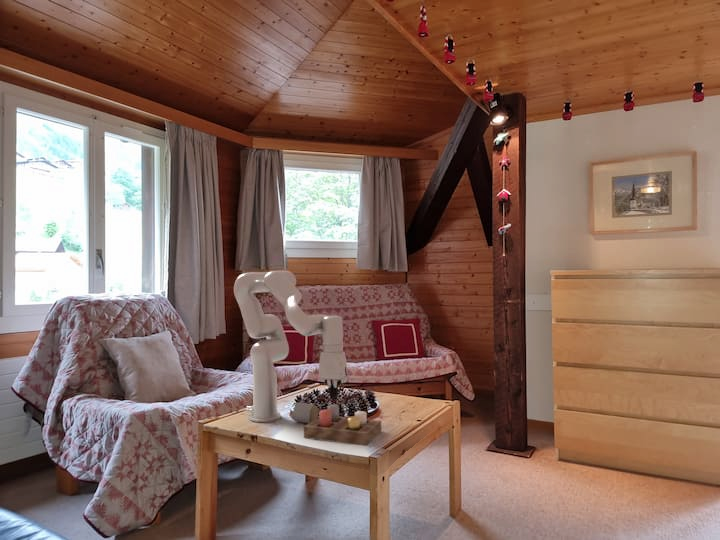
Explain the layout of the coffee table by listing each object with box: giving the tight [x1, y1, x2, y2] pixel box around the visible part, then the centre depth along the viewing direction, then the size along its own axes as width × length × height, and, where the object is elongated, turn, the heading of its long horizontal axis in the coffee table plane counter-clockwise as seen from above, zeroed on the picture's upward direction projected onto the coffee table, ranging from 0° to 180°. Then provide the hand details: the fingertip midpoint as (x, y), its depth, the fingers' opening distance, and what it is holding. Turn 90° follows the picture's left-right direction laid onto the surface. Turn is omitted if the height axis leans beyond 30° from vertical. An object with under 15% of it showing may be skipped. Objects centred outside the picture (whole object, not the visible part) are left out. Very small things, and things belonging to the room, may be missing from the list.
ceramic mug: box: [292, 401, 320, 424], centre depth 205 cm, size 11×8×8 cm
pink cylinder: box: [318, 408, 332, 427], centre depth 186 cm, size 4×4×5 cm
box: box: [303, 416, 382, 446], centre depth 188 cm, size 24×16×4 cm, turn 70°
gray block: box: [326, 404, 340, 422], centre depth 193 cm, size 4×4×5 cm
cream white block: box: [354, 410, 368, 425], centre depth 189 cm, size 4×4×5 cm
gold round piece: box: [348, 415, 360, 431], centre depth 183 cm, size 4×4×5 cm
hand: (333, 397), depth 193 cm, fingers closed
